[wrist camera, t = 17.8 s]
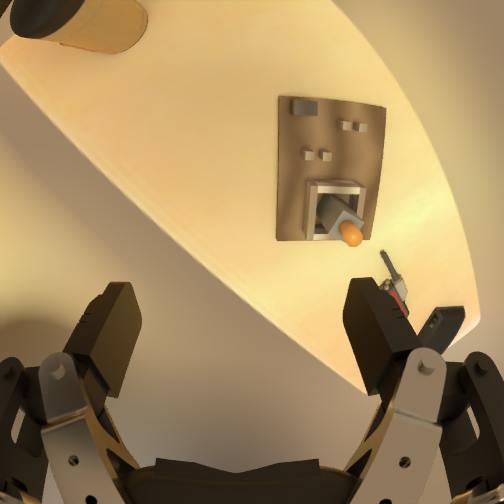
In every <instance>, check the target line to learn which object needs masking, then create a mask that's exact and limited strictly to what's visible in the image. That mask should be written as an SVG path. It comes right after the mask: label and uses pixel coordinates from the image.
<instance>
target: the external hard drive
mask: <svg viewBox="0 0 504 504" xmlns="http://www.w3.org/2000/svg"><path fill="white" fill-rule="evenodd" d="M464 319H465V309H464V306H451V307H436V308H435V309H434V311H433V312H432V314H431V315H430V317H429V318H428V320H427V321H426V323H425V324H424V326H423V328H422V329H421V331H420V332H419V334H418V338H419V340H420V342H421V344H422V345H423V347H424V348H429V349H432V350H434V351H436V352H437V353H439V354H440V355H442V354H443V353H444V351H445V350H446V349H447V348H448V346H449V345H450V344H451V342H452V341H453V339H454V338H455V336H456V335H457V333H458V331H459V329H460V327H461V325H462V323H463V321H464Z"/></svg>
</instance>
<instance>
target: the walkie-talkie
mask: <svg viewBox="0 0 504 504" xmlns="http://www.w3.org/2000/svg"><path fill="white" fill-rule="evenodd" d="M381 256H382V258H383V259H384V261H385V263H386V265H387V267H388V269H389V271H390V273H391V274H392V278H393V279H391V280H388V279H386V280H385V283H383V284H382V285H381V286H379V289H380V290H385V291H387V292H388V293H389V294H390V295H392V296H393V297H394V298H395V299H396V301H397V303H398V304H399V306H400V308H401V310H402V311H403V312H404V314H405V317H406V318H407V317H408V315H409V311H408V308H407V306H406V304H405V299H406V295H407V292H408V290H407V288H406V286H405V284H404V280H403V278H402V277H401V276H400V274H399V275H398V274H397V273H396V271H395V269H394V267H393V265H392V263H391V261H390V259H389V257H388V255H387V254H386V252H382V254H381Z"/></svg>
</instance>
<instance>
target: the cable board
mask: <svg viewBox="0 0 504 504" xmlns="http://www.w3.org/2000/svg"><path fill="white" fill-rule="evenodd" d="M385 124H386V108H383V107H378V106H372V105H366V104H359V103H352V102H345V101H337V100H327V99H317V98H304V97H284V96H279V133H278V192H277V227H276V239H277V241H318V240H340V239H338V238H336V237H334V236H332V235H330V234H328V232H327V231H326V229H325V227H324V226H323V224H322V222H321V221H320V219H319V217H318V216H317V214H316V206H317V205H318V203H319V201H320V200H321V198H322V197H323V195H324V193H332V194H334V195H335V196H337V197H339V198H340V199H342V200H344V201H345V202H346V203H347V204H348V205H349V206H350V207H351V208H352V209H353V210H354V212H355V213H356V214H357V215H358V216H359V217H360V218H361V219H362V220H363V222H364V224H363V226H362V227H361V228H360V230H359V231H360V232H361V233H362V235H363V240H370V237H371V232H372V227H373V221H374V216H375V210H376V204H377V197H378V190H379V183H380V176H381V168H382V159H383V149H384V138H385Z"/></svg>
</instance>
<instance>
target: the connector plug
mask: <svg viewBox="0 0 504 504" xmlns="http://www.w3.org/2000/svg"><path fill="white" fill-rule="evenodd" d="M316 214H317V216H318V217H319V219H320V221H321V222H322V224H323V226H324V227H325V229H326V231H327V232H328V234H330V235H332V236H334V237H336V238H338V239H340V240H342V241H343V242H345V243H347V245H348V246H350V247H356V246H358V245H359V244H360V243H361V242H362V240H363V235H362V233H361V232H360V231H359V230H360V228H361V227H362V226H363V224H364V222H363V220H362V219H361V218H360V217H359V216H358V215H357V214H356V213H355V212H354V210H353V209H352V208H351V207H350V206H349V205H348V204H347V203H346V202H345V201H344V200H342V199H340V198H339V197H337V196H335V195H334V194H332V193H324V195H323V197H322V198H321V200H320V201H319V203H318V205H317V206H316Z"/></svg>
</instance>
